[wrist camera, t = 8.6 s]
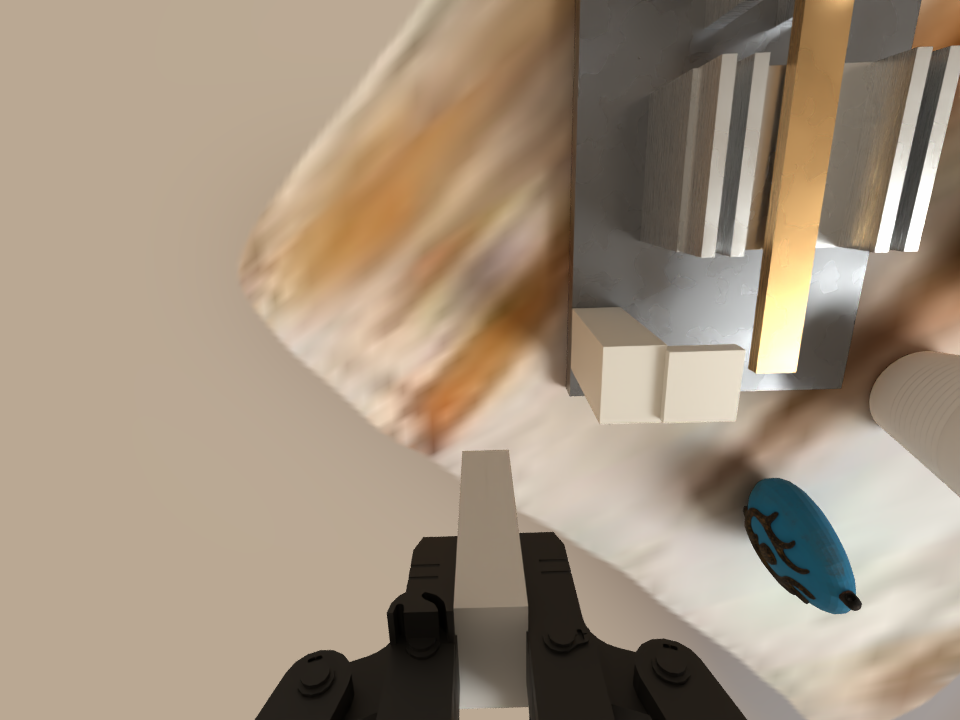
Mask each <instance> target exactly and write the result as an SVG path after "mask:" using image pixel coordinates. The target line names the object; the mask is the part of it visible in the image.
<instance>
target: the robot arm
mask: <svg viewBox="0 0 960 720" xmlns="http://www.w3.org/2000/svg"><path fill="white" fill-rule="evenodd" d="M458 521H459V522H458V536H448V537H423V539H422V540H421V541H420V542H419V544H418V545H417V546H416V548H415V549H414V550H413V556H412V561H411V568H410V572H409V580H408V584H407V589H406V592H405V593H403V594H402V595H400V596H399V597H397V598H396V599H395V600H394V601H393V602H392V603H391V605H390V608H389V609H388V612H387V619H388V628H389V637H390V643H389V644H388V645H387V646H386V647H384V648H383V649H381V650H380V651H378V652H377V653H374V654H372V655H370V656H367V657H364V658H361V659H358V660H355V661H352V662H349V661H348V660H347V658H346V657H345V656H344V655H343V654H341V653H338V652H336V651H334V650H320V651H317V652H314V653H311V654H308V655H306V656H304V657H303V658H301V659H300V660H298V661H297V662H296V663H294V664H293V666H292V667H291V668H290V669H289V670H288V671H287V672H286V674H285V675H284V677H283V678H282V680H281V681H280V682H279V684H278V686H277V687H276V688H275V690H274V691H273V693H272V694H271V696H270V698H269V699H268V701H267V702H266V704H265V705H264V707H263V708H262V710H261V711H260V713H259V714H258V716H257V717H256V719H255V720H459V709H474V708H509V707H528V705H529V716H530V717H529V718H530V719H529V720H747V719H746V718H745V716H744V715H743V714H742V712H741V711H740V710H739V709H738V707H737V706H736V705H735V703H734V702H733V701H732V699H731V698H730V697H729V695H728V694H727V693H726V692H725V690H724V689H723V688H722V686H721V685H720V684H719V682H718V681H717V680H716V679H715V677H714V676H713V675H712V673H711V672H710V671H709V669H708V668H707V667H706V666H705V664H704V663H703V662H702V660H701V659H700V658H699V657H698V656H697V655H696V654H695V653H694V652H693V651H692V650H691V649H689V648H687V647H686V646H684V645H682V644H680V643H678V642H676V641H671V640H667V639H652V640H649V641H647V642H645V643H643V644H641V646H640V647H639V649H638V650H637V651H636V652H633V651H629V650H625V649H621V648H617V647H614V646H612V645H609V644H606V643H605V642H603V641H601V640H600V639H598V638H597V637H596V636H594V635H593V634H592V633H591V632H590V630H589V629H588V628H587V626H586V625H585V623H584V620H583V618H582V614H581V610H580V606H579V602H578V598H577V594H576V590H575V586H574V582H573V578H572V574H571V570H570V566H569V562H568V558H567V554H566V550H565V546H564V544H563V543H562V541H561V540H560V539H559V538H558V537H557V536H556V535H555V533H554V532H539V533H519V529H518V522H517V513H516V505H515V497H514V489H513V481H512V473H511V465H510V457H509V450H487V451H462V467H461V485H460V503H459V520H458Z"/></svg>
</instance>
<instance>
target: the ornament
mask: <svg viewBox="0 0 960 720" xmlns="http://www.w3.org/2000/svg"><path fill="white" fill-rule="evenodd" d="M743 512H744V516H745V528H746V531H747V534H748V537H749V539H750V541H751V544H752V546H753V548H754V549H755V551H756V553H757V554H758V556H759V558H760V559H761V561H762V563H763V564H764V565H765V567H766V568H767V569H768V571H769V572H770V573H771V574H772V576H773V577H774V578H775V579H776V580H777V582H778V583H779V584H780V585H781V586H782V587H784V588H785V589H786V590H787V591H788V592H789V593H791V594H793V595H796V596H797V597H798V598H799V599H801V600H802V601H803V602H804V603H806V604H808V603H810V604H812V605H814V606H815V607H817V608H819V609H821V610H823V611H826V612H828V613H832V614H843V613H847V612H849V611H850V610H854V611H857V610H859V609H860V608H861V605H862V603H861V601H860V600H859V598H858V597H857V596H856V587H855V579H854V575H853V572H852V568H851V565H850V562H849V560H848V557H847V555H846V552H845V550H844V548H843V546H842V544H841V542H840V540H839V538H838V536H837V534H836V533H835V531H834V529H833V527H832V526H831V524H830V523H829V521H828V519H827V518H826V516H825V515H824V513H823V512H822V511H821V509H820V508H819V507H818V506H817V505H816V504H815V503H814V501H813V500H812V499H811V498H810V497H809V496H808V495H807V494H806V493H805V492H804V491H803V490H801V489H800V488H798V487H797V486H796V485H794V484H793V483H791V482H789V481H786V480H783V479H780V478H768V479H763V480H761V481H759V482H758V483H757V484H756V486H755V487H754V488H753V490H752V492H751V494H750V496H749V502H748V506H744V508H743Z"/></svg>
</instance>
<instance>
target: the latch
mask: <svg viewBox="0 0 960 720" xmlns="http://www.w3.org/2000/svg"><path fill="white" fill-rule="evenodd" d="M745 353H746V350H745V349H743V348H742V347H740V346H738V345H736V344H717V345H683V346H667V344H665V343H664V342H663V341H662V340H661V339H659V338H658V337H657V336H656V335H654V334H653V333H652V332H651V331H649V330H648V329H647V328H646V327H644V326H643V325H642V324H641V323H639V322H638V321H637V320H636V319H635V318H633V317H632V316H631V315H630V314H628V313H627V312H626V311H625V310H623V309H622V308H621V307H602V308H572V343H571V370H572V372H573V374H574V376H575V378H576V379H577V381H578V383H579V385H580V387H581V389H582V391H583V393H584V395H585V397H586V399H587V401H588V403H589V404H590V406H591V408H592V410H593V412H594V414H595V416H596V418H597V420H598V422H599V424H627V423H661V421H662V422H663V423H691V422H726V421H736V417H737V410H738V403H739V396H740V389H741V381H742V374H743V367H744V360H745Z"/></svg>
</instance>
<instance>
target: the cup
mask: <svg viewBox="0 0 960 720" xmlns="http://www.w3.org/2000/svg"><path fill="white" fill-rule="evenodd" d="M869 406H870V412H871V415H872V417H873V419H874V420H875V422H876V423H877V424H878V425H879V426H880V427H881V428H882V429H883V430H885V431H886V432H887V433H888V434H889V435H890V436H891V437H892V438H894V439H895V440H896V441H897V442H898V443H899V444H901V445H902V446H903V447H904V448H905V449H906V450H907V451H909V453H911V454H912V455H913V456H914V457H915V458H916V459H918V460H919V461H920V462H921V463H922V464H923V465H924V466H925V467H926V468H928V469H929V470H930V471H931V472H932V473H933V474H935V475H936V476H937V477H938V478H939V479H940V480H941V481H942V482H943V483H945V484H946V485H947V486H948V487H949V488H950V489H951V490H952V491H953V492H954V493H956V494H957V495H958V496H959V497H960V355H954V354H947V353H941V352H935V351H922V352H915V353H912V354H909V355H906V356H904V357H902V358H900V359H898V360H896V361H895V362H893V363H892V364H891V365H889V366H888V367H887V368H886V369H885V370H884V371H883V372H882V373H881V374H880V376H879V377H878V378H877V380H876V382H875V384H874V385H873V387H872V391H871V394H870V400H869Z"/></svg>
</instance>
